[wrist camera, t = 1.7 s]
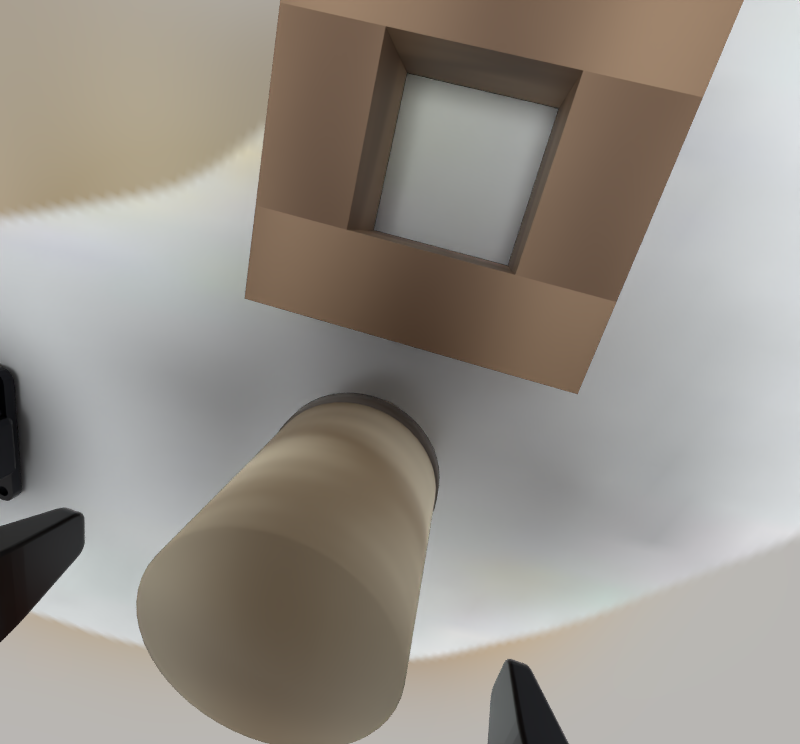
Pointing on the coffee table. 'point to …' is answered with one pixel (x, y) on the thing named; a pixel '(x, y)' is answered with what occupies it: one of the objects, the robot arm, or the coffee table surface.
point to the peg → (301, 578)
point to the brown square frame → (552, 192)
